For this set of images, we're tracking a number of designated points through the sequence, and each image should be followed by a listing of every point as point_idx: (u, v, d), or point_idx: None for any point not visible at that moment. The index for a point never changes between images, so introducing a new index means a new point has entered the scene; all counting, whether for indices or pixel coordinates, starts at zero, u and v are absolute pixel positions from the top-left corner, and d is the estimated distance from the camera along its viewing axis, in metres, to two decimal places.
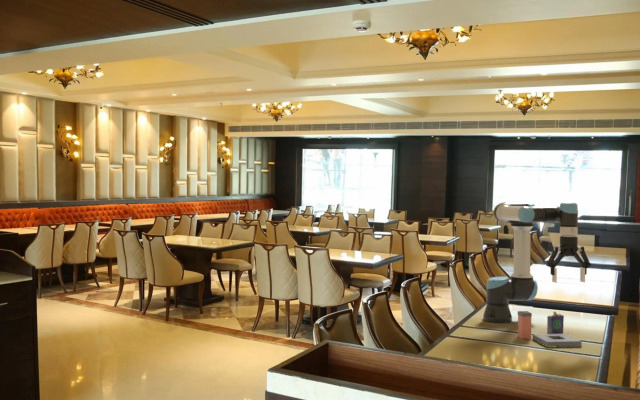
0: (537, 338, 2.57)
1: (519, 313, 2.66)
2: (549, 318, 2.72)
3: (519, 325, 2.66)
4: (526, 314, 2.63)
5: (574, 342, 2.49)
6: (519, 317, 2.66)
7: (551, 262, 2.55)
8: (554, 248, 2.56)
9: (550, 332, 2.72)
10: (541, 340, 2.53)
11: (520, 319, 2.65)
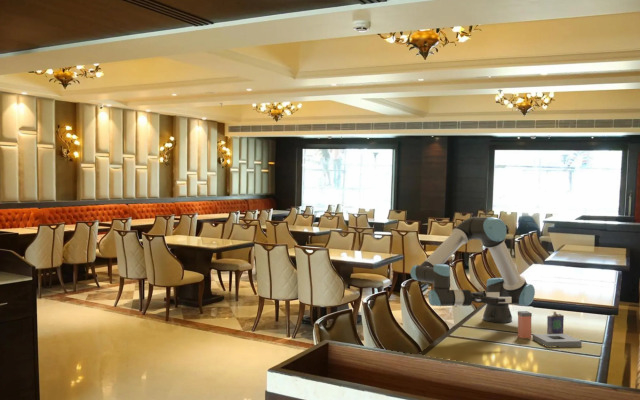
0: (537, 338, 2.57)
1: (519, 313, 2.66)
2: (549, 318, 2.72)
3: (519, 325, 2.66)
4: (526, 314, 2.63)
5: (574, 342, 2.49)
6: (519, 317, 2.66)
7: None
8: None
9: (550, 332, 2.72)
10: (541, 340, 2.53)
11: (520, 319, 2.65)
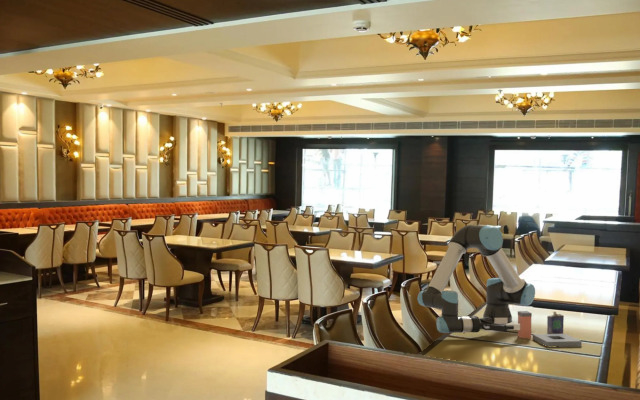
0: (537, 338, 2.57)
1: (519, 313, 2.66)
2: (549, 318, 2.72)
3: None
4: (526, 314, 2.63)
5: (574, 342, 2.49)
6: (519, 317, 2.66)
7: None
8: None
9: (550, 332, 2.72)
10: (541, 340, 2.53)
11: (520, 319, 2.65)
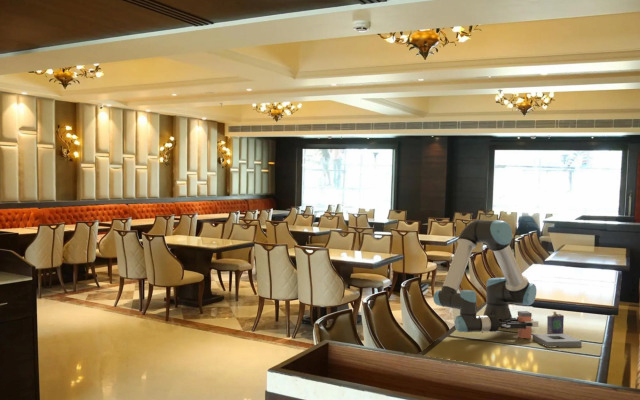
0: (537, 338, 2.57)
1: (519, 313, 2.66)
2: (549, 318, 2.72)
3: None
4: (526, 314, 2.63)
5: (574, 342, 2.49)
6: (519, 317, 2.66)
7: None
8: None
9: (550, 332, 2.72)
10: (541, 340, 2.53)
11: (520, 319, 2.65)
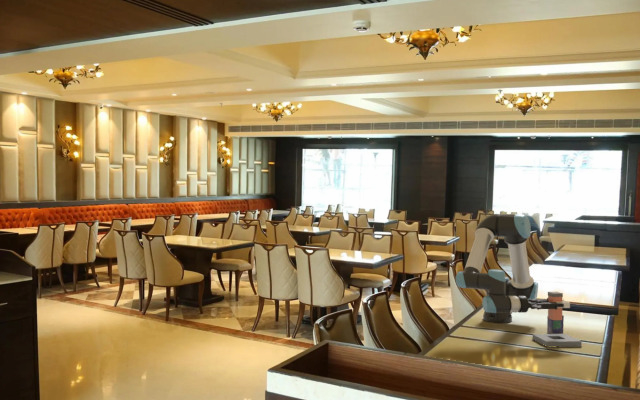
0: (537, 338, 2.57)
1: (549, 293, 2.56)
2: None
3: None
4: (557, 294, 2.53)
5: (574, 342, 2.49)
6: (549, 298, 2.56)
7: None
8: None
9: (550, 332, 2.72)
10: (541, 340, 2.53)
11: (551, 300, 2.55)
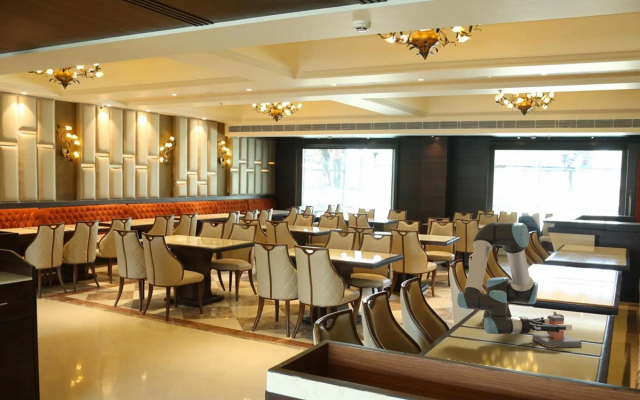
0: (537, 338, 2.57)
1: (551, 318, 2.56)
2: None
3: None
4: (558, 319, 2.53)
5: (574, 342, 2.49)
6: (551, 322, 2.56)
7: None
8: None
9: None
10: (541, 340, 2.53)
11: (552, 324, 2.55)
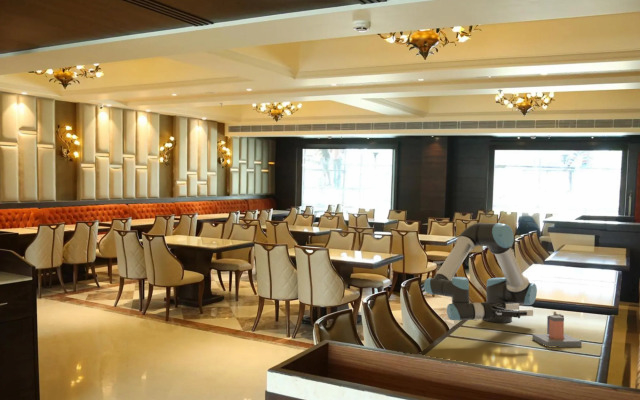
0: (537, 338, 2.57)
1: (551, 318, 2.56)
2: None
3: (551, 330, 2.56)
4: (558, 319, 2.53)
5: (574, 342, 2.49)
6: (551, 322, 2.56)
7: None
8: None
9: None
10: (541, 340, 2.53)
11: (552, 324, 2.55)
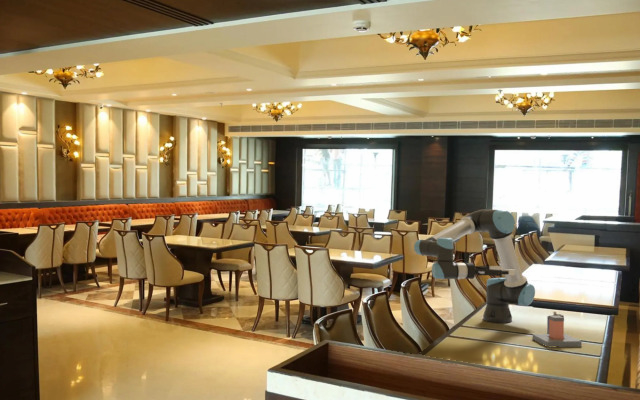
0: (537, 338, 2.57)
1: (551, 318, 2.56)
2: None
3: (551, 330, 2.56)
4: (558, 319, 2.53)
5: (574, 342, 2.49)
6: (551, 322, 2.56)
7: None
8: None
9: None
10: (541, 340, 2.53)
11: (552, 324, 2.55)
